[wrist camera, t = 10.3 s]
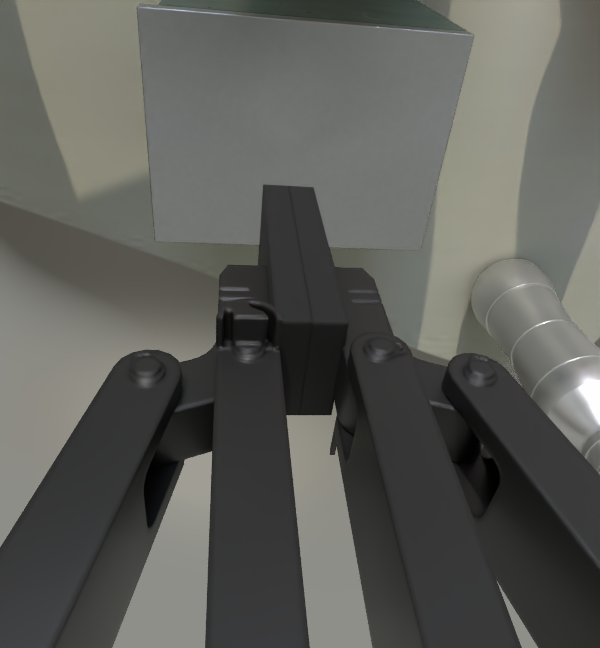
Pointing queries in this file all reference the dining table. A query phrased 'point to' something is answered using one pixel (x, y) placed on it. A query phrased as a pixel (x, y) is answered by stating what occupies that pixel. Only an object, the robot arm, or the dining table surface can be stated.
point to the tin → (333, 10)
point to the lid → (295, 122)
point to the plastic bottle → (543, 348)
